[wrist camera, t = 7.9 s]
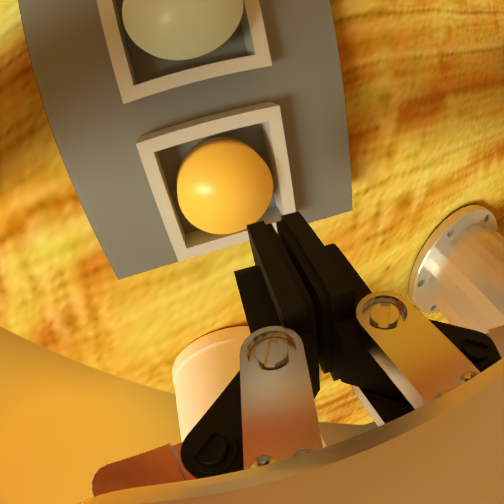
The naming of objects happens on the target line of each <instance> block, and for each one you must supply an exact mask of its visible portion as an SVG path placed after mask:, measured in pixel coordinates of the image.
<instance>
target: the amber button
mask: <svg viewBox="0 0 504 504" xmlns="http://www.w3.org/2000/svg"><path fill="white" fill-rule="evenodd" d="M272 194H273V179H272V175H271V172H270V170H269V168H268V166H267V164H266V163H265V162H264V160H263V159H262V158H261V157H260V156H259V155H258V154H257V153H256V152H255V150H254V149H253V148H251V147H250V146H249V145H248V144H246V143H245V142H243V141H241V140H238V139H235V138H231V137H214V138H210V139H207V140H204V141H202V142H200V143H198V144H197V145H195V146H194V147H193V148H192V149H190V150H189V151H188V153H187V154H186V155H185V156H184V158H183V159H182V161H181V163H180V165H179V168H178V172H177V195H178V202H179V206H180V208H181V211H182V213H183V214H184V216H185V217H186V218H187V220H188V221H189V222H190V223H191V224H193V225H194V226H195V227H197V228H199V229H201V230H203V231H205V232H208V233H212V234H231V233H235V232H239V231H241V230H244V229H246V228H247V225H248V224H252V223H255V222H256V221H257V220H258V219H259V218H260V217H261V216H262V215H263V214H264V213H265V211H266V209H267V208H268V206H269V204H270V201H271V198H272Z"/></svg>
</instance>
